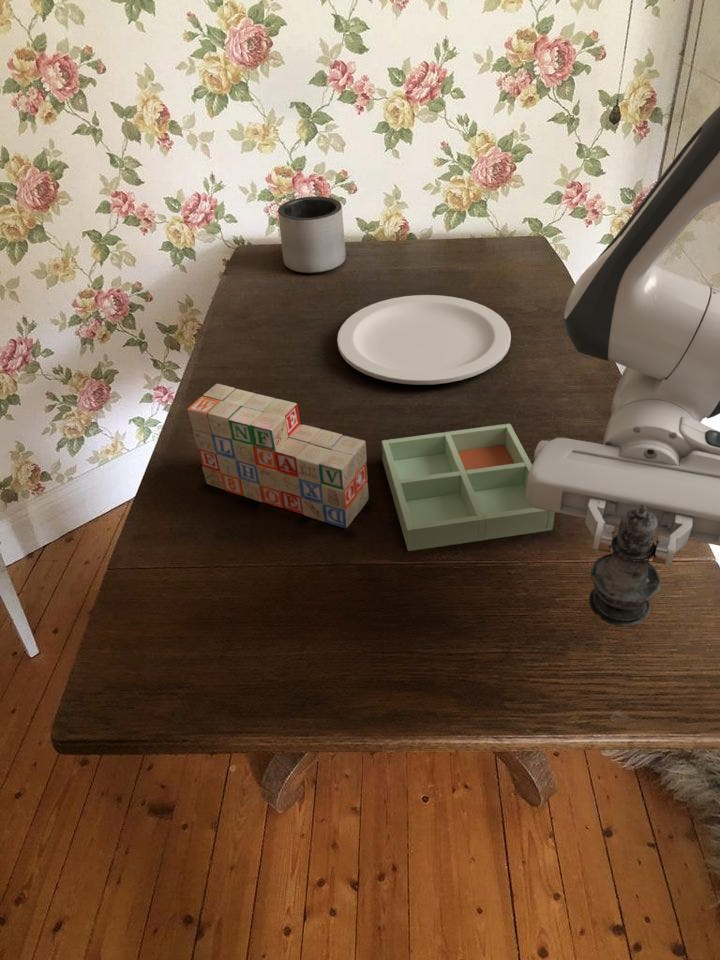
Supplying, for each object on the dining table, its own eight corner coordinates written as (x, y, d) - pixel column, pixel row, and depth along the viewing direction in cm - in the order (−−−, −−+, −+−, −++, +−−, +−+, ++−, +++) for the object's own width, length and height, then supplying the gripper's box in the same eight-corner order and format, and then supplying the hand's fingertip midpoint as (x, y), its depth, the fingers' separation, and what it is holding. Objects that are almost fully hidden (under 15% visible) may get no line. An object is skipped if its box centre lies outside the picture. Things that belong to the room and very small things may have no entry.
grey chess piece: (572, 593, 69) (590, 495, 62) (623, 571, 71) (647, 473, 63) (614, 638, 65) (639, 539, 58) (667, 614, 67) (698, 515, 59)
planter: (300, 281, 145) (294, 224, 138) (274, 259, 154) (266, 205, 146) (357, 265, 149) (354, 209, 142) (328, 244, 158) (324, 191, 151)
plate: (305, 344, 126) (303, 331, 125) (430, 292, 138) (430, 280, 137) (413, 415, 108) (413, 402, 107) (546, 348, 121) (548, 335, 119)
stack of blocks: (370, 499, 95) (365, 419, 87) (346, 530, 91) (339, 450, 83) (232, 457, 103) (216, 381, 95) (204, 484, 99) (185, 406, 91)
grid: (508, 443, 102) (510, 423, 100) (552, 530, 89) (555, 508, 87) (382, 460, 101) (381, 440, 99) (407, 551, 88) (407, 530, 85)
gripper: (543, 409, 74) (511, 498, 64) (773, 447, 67) (777, 552, 57) (537, 460, 78) (506, 551, 68) (754, 499, 71) (754, 606, 62)
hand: (632, 552), depth 63 cm, fingers closed on grey chess piece, 3 cm apart
